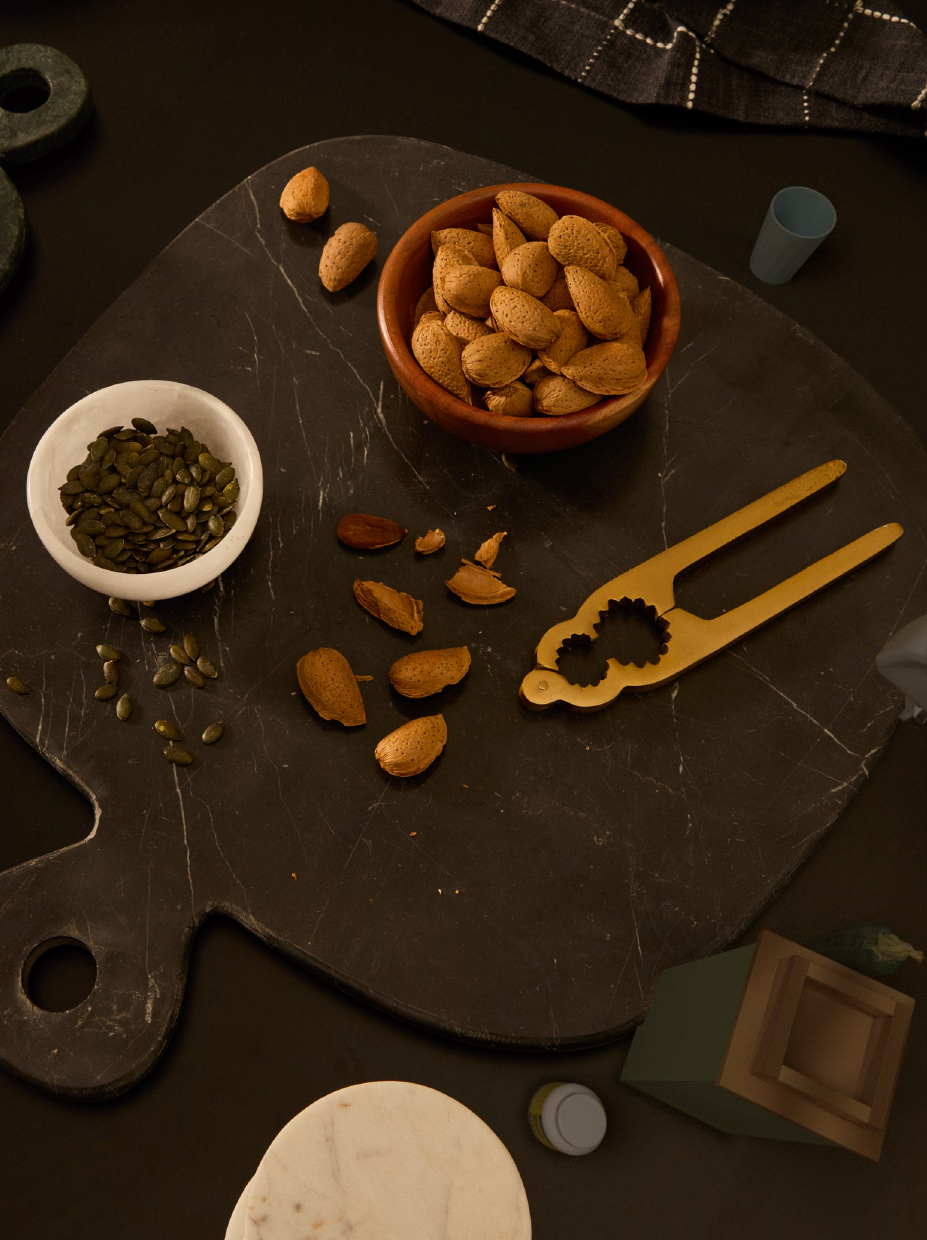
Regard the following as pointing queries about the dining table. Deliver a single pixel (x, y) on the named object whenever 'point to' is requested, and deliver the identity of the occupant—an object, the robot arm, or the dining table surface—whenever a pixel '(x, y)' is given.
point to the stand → (701, 1048)
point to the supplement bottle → (567, 1118)
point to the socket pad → (817, 1044)
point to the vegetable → (865, 948)
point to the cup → (791, 233)
